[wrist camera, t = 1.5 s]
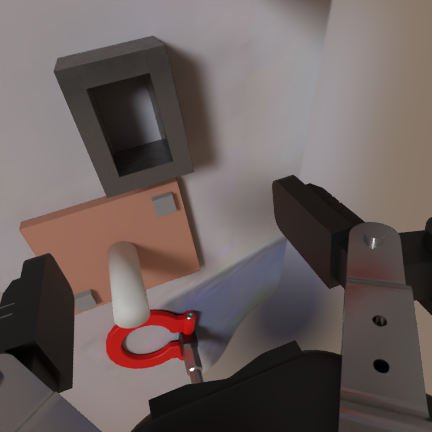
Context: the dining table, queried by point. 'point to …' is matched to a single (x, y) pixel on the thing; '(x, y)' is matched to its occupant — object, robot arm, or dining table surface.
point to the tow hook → (179, 349)
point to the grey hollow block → (93, 125)
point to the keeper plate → (108, 227)
